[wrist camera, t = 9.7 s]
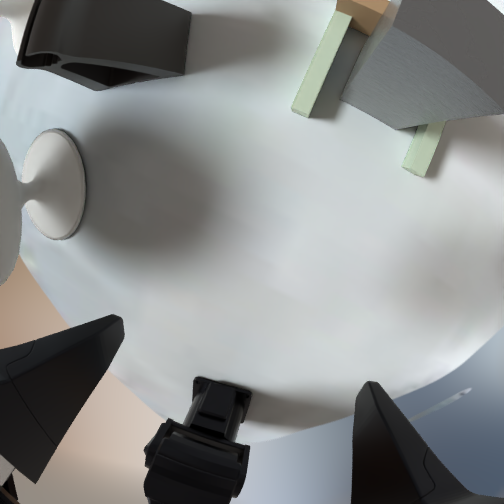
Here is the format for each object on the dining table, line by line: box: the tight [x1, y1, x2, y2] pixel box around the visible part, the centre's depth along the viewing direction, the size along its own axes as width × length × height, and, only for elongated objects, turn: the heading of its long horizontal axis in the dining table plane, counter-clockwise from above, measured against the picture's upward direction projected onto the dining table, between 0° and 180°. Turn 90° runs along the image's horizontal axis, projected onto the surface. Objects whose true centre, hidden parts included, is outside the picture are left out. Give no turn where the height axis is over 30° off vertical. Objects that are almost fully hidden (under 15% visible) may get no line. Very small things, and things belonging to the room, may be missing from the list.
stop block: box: [340, 0, 504, 130], centre depth 10 cm, size 4×4×12 cm
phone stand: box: [16, 0, 191, 91], centre depth 11 cm, size 9×6×12 cm, turn 86°
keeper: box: [291, 0, 446, 177], centre depth 13 cm, size 10×10×4 cm
